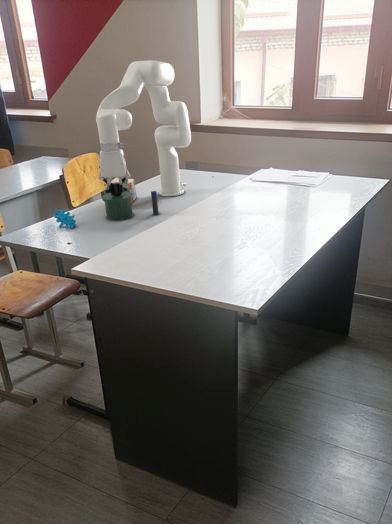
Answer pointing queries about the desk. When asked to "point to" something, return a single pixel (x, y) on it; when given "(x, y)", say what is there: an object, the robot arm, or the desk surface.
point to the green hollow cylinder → (118, 208)
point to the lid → (117, 195)
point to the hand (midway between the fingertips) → (116, 194)
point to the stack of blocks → (128, 186)
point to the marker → (154, 202)
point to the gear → (65, 219)
